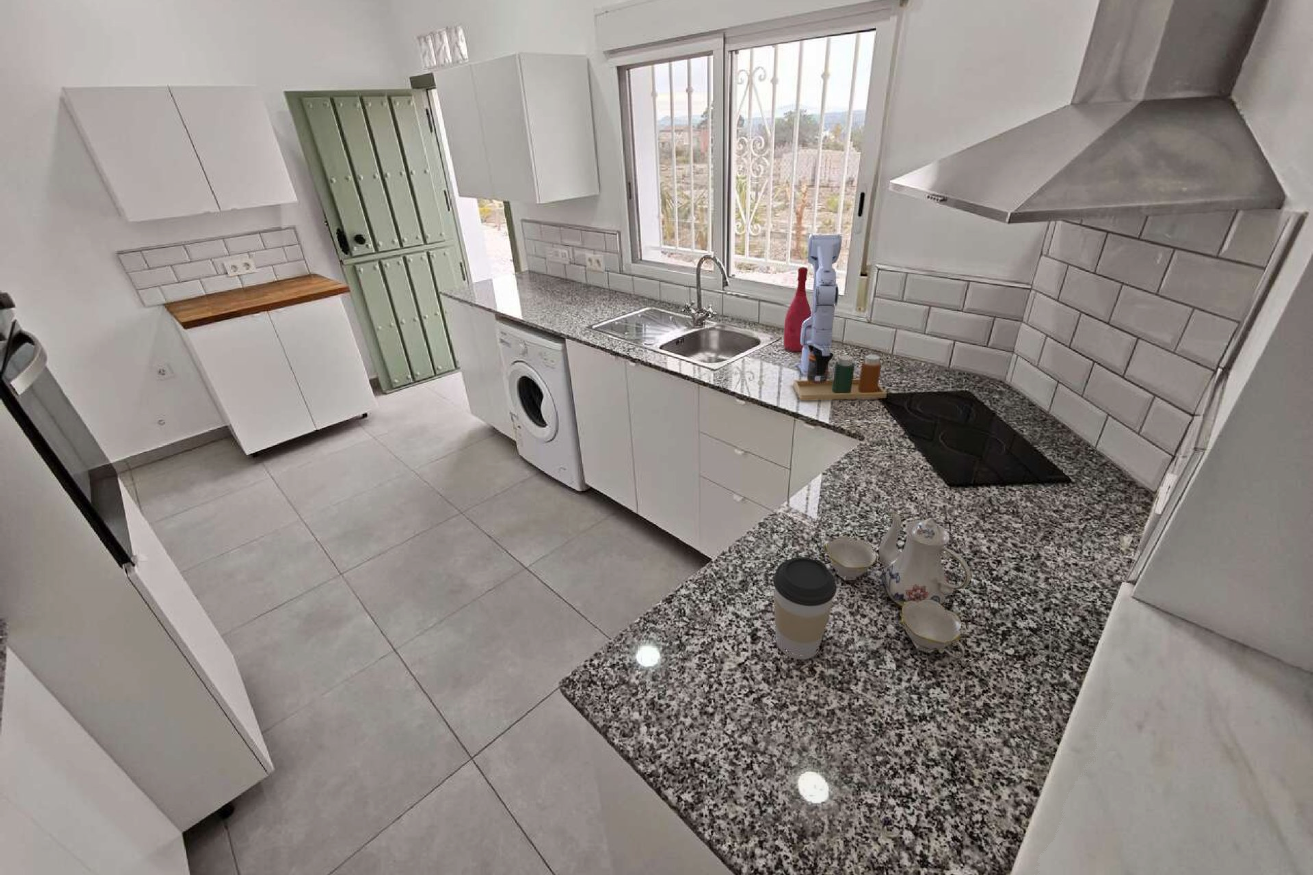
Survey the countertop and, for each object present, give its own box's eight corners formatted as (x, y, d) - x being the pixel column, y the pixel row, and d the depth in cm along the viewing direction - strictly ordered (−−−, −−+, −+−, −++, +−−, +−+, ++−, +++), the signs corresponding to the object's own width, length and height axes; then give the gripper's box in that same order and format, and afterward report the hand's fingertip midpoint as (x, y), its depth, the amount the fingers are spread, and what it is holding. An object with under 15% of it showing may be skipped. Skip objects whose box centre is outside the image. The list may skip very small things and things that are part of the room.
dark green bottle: (830, 387, 171) (834, 354, 165) (848, 387, 170) (852, 354, 165) (834, 394, 166) (838, 361, 160) (853, 394, 165) (857, 360, 160)
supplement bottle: (822, 386, 163) (826, 350, 158) (803, 381, 166) (806, 347, 161) (829, 379, 167) (834, 344, 162) (811, 375, 170) (815, 341, 165)
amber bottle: (855, 387, 170) (860, 354, 165) (873, 386, 170) (879, 353, 165) (860, 394, 165) (866, 360, 160) (879, 393, 165) (885, 360, 160)
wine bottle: (782, 343, 210) (787, 264, 196) (807, 344, 209) (815, 264, 195) (783, 352, 202) (790, 270, 188) (810, 352, 200) (819, 270, 186)
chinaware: (806, 574, 101) (807, 505, 92) (869, 536, 107) (876, 468, 98) (940, 687, 79) (958, 611, 71) (1010, 632, 85) (1034, 556, 77)
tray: (793, 386, 174) (793, 380, 173) (873, 384, 173) (874, 378, 172) (800, 401, 164) (800, 395, 163) (885, 399, 163) (886, 393, 162)
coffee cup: (790, 674, 81) (799, 601, 73) (757, 630, 88) (762, 560, 81) (839, 652, 84) (851, 580, 76) (803, 612, 91) (811, 543, 84)
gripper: (803, 320, 165) (799, 362, 172) (814, 335, 152) (809, 379, 159) (827, 319, 165) (822, 361, 171) (839, 334, 152) (833, 379, 159)
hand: (817, 370), depth 165 cm, fingers closed on supplement bottle, 6 cm apart
